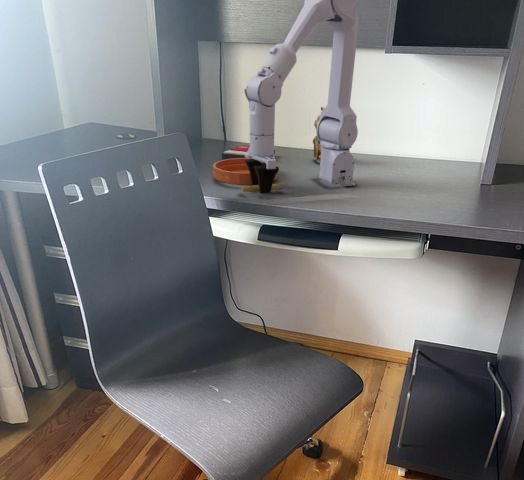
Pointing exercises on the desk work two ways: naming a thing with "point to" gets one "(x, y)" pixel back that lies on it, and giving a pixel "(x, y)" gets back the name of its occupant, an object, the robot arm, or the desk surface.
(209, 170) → the desk surface
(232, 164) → the bowl
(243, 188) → the cylinder
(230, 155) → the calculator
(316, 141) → the decorative figurine
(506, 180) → the desk surface
